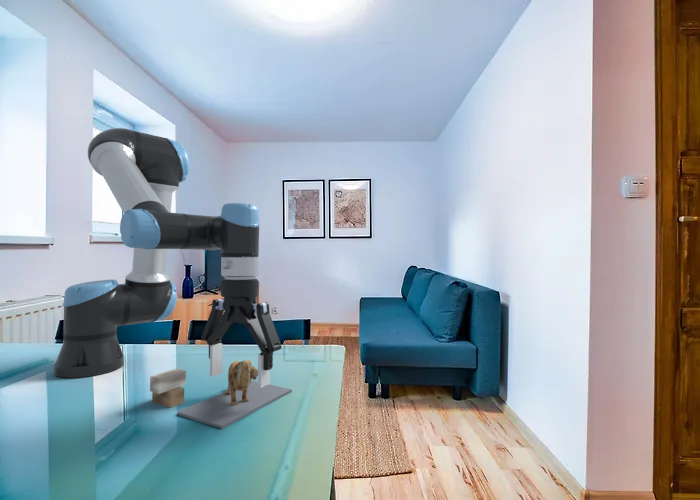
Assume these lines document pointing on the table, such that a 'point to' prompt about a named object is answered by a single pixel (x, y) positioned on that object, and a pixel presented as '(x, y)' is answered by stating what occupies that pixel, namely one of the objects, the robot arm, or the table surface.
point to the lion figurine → (240, 379)
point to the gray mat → (224, 414)
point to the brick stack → (168, 387)
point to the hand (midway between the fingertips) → (239, 380)
